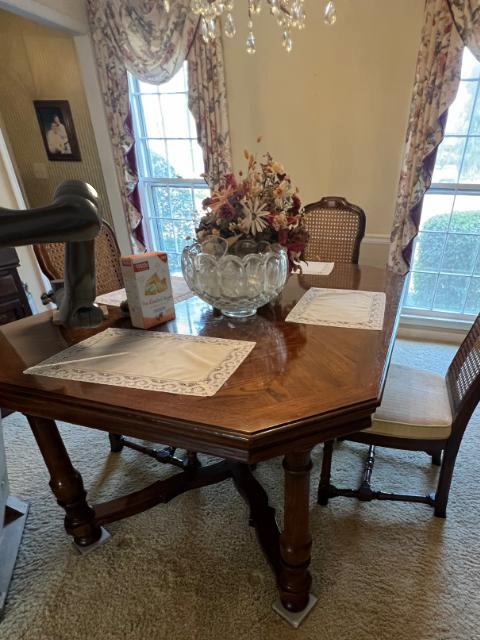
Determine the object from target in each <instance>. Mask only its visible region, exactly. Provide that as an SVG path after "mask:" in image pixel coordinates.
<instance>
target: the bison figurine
mask: <svg viewBox="0 0 480 640" xmlns="http://www.w3.org/2000/svg"><path fill="white" fill-rule="evenodd" d="M119 309H120V311H119V313H118V314H119V315H121V316H123V317H125V318H131V316H130V311H129V306H128V301H127V298H126V299H125V300H122V301H121V302H120V304H119Z"/></svg>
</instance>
